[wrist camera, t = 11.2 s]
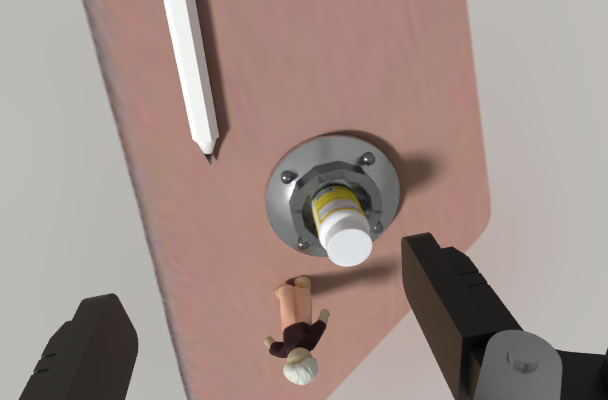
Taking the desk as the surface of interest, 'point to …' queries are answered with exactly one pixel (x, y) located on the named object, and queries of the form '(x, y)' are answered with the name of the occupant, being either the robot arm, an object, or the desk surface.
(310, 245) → the hub plate
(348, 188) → the supplement bottle
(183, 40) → the white pencil
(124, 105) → the desk surface
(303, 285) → the grandmother figurine
